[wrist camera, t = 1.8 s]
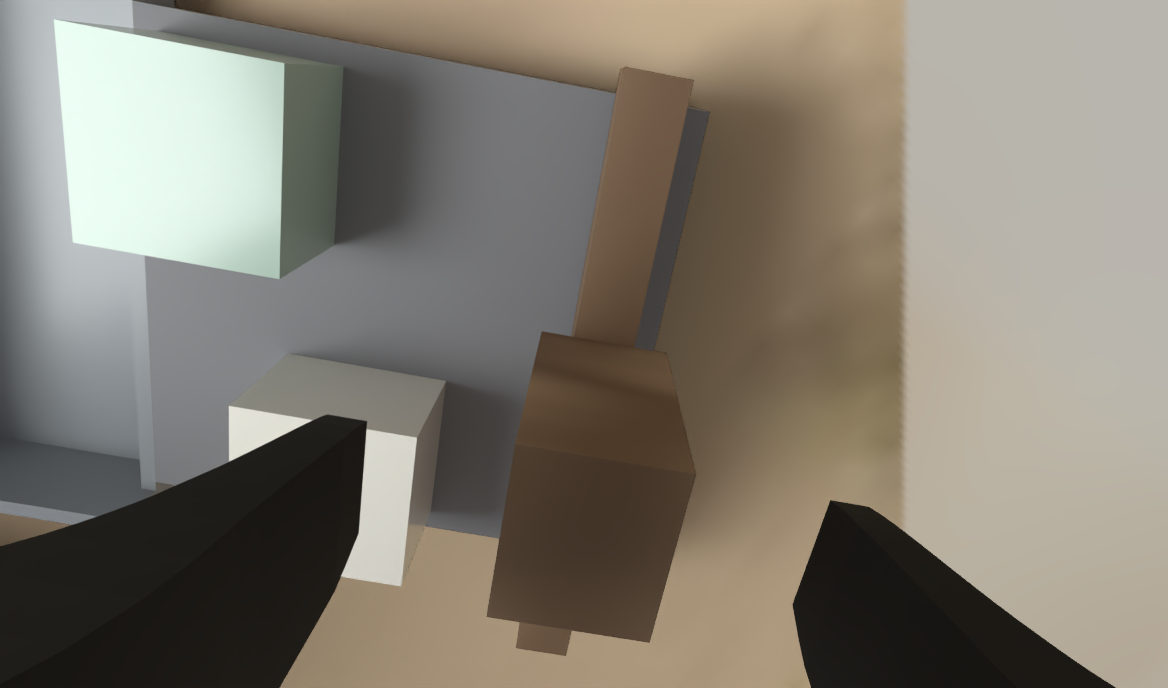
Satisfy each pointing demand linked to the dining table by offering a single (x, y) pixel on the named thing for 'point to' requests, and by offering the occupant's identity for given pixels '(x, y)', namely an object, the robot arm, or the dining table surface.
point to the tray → (63, 302)
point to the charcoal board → (409, 257)
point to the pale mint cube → (198, 148)
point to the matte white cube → (392, 451)
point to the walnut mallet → (602, 414)
